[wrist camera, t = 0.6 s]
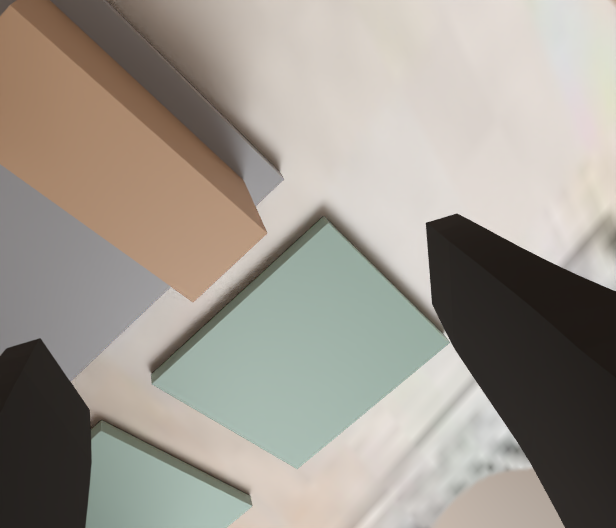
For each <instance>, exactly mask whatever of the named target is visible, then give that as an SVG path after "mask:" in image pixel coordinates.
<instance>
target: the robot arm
mask: <svg viewBox="0 0 616 528" xmlns="http://www.w3.org/2000/svg"><path fill="white" fill-rule="evenodd" d="M426 231H427V244H428V257H429V270H430V283H431V295H432V305H433V307H434V309H435V311H436V313H437V315H438V317H439V319H440V321H441V323H442V325H443V327H444V329H445V331H446V333H447V335H448V337H449V339H450V341H451V343H452V345H453V347H454V348H455V350H456V352H457V353H458V355H459V356H460V358H461V359H462V361H463V362H464V364H465V365H466V367H467V368H468V370H469V371H470V373H471V374H472V376H473V377H474V379H475V380H476V382H477V383H478V385H479V386H480V387H481V389H482V390H483V392H484V393H485V395H486V396H487V398H488V399H489V401H490V402H491V404H492V405H493V407H494V408H495V410H496V411H497V413H498V414H499V415H500V417H501V418H502V420H503V421H504V423H505V424H506V426H507V427H508V429H509V430H510V432H511V433H512V435H513V436H514V438H515V439H516V441H517V442H518V444H519V445H520V447H521V449H522V450H523V452H524V453H525V455H526V457H527V458H528V460H529V461H530V463H531V465H532V467H533V469H534V470H535V472H536V474H537V476H538V478H539V480H540V481H541V483H542V485H543V487H544V489H545V491H546V492H547V494H548V496H549V498H550V500H551V502H552V504H553V505H554V507H555V509H556V511H557V513H558V515H559V517H560V518H561V521H562V523H563V525H564V526H565V528H616V291H613V290H611V289H609V288H606V287H604V286H602V285H599V284H597V283H595V282H592V281H590V280H588V279H585V278H583V277H581V276H579V275H576V274H574V273H572V272H570V271H568V270H566V269H563V268H561V267H559V266H557V265H555V264H553V263H551V262H549V261H547V260H545V259H543V258H541V257H539V256H537V255H535V254H533V253H531V252H529V251H527V250H525V249H523V248H521V247H519V246H517V245H515V244H513V243H512V242H510V241H508V240H506V239H504V238H502V237H500V236H498V235H497V234H495V233H493V232H491V231H489V230H487V229H485V228H484V227H482V226H480V225H478V224H476V223H474V222H472V221H471V220H469V219H467V218H465V217H463V216H461V215H459V214H454V215H451V216H447V217H444V218H441V219H437V220H434V221H431V222H427V223H426ZM91 465H92V451H91V426H90V410H89V408H88V407H87V405H86V404H85V402H84V401H83V399H82V398H81V397H80V395H79V394H78V392H77V391H76V389H75V388H74V386H73V385H72V383H71V382H70V380H69V379H68V378H67V376H66V375H65V373H64V372H63V370H62V369H61V367H60V366H59V364H58V363H57V361H56V360H55V359H54V357H53V356H52V354H51V353H50V351H49V350H48V348H47V347H46V345H45V344H44V342H43V341H42V340H41V338H39V339H36V340H32V341H29V342H26V343H22V344H19V345H15V346H12V347H9V348H6V349H5V351H4V352H3V353H2V354H1V355H0V528H85V527H86V518H87V508H88V498H89V487H90V477H91Z"/></svg>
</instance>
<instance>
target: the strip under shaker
mask: <svg viewBox="0 0 616 528" xmlns="http://www.w3.org/2000/svg"><path fill="white" fill-rule="evenodd" d="M283 180H284V178H283V176H282V174H281V173H280V172H279V171H278V170H277V169H276V168H275V167H274V166H273V165H272V164H271V163H270V162H269V161H268V160H267V159H266V158H265V157H264V156H263V155H262V154H261V153H260V152H259V151H258V150H257V149H256V148H255V147H254V146H253V145H252V144H251V143H250V142H249V141H248V140H247V139H246V138H245V137H244V136H243V135H242V134H241V133H240V132H239V131H238V130H237V129H236V128H235V127H234V126H233V125H232V124H231V123H230V122H229V121H228V120H227V119H226V118H225V117H223V116H222V115H221V114H220V113H219V112H218V111H217V110H216V109H215V108H214V107H213V106H212V105H211V104H210V103H209V102H208V101H207V100H206V99H205V98H204V97H203V96H202V95H201V94H200V93H199V92H198V91H197V90H196V89H195V88H194V87H193V86H192V85H191V84H190V83H189V82H188V81H187V80H186V79H185V78H184V77H183V76H182V75H181V74H180V73H179V72H178V71H177V70H176V69H175V68H174V67H173V66H172V65H171V64H170V63H169V62H168V61H167V60H166V59H165V58H164V57H163V56H162V55H161V54H160V53H159V52H158V51H157V50H156V49H155V48H154V47H153V46H152V45H151V44H150V43H149V42H148V41H147V40H146V39H145V38H144V37H143V36H142V35H141V34H140V33H139V32H138V31H136V30H135V29H134V28H133V27H132V26H131V25H130V24H129V23H128V22H127V21H126V20H125V19H124V18H123V17H122V16H121V15H120V14H119V13H118V12H117V11H116V10H115V9H114V8H113V7H112V6H111V5H110V4H109V3H108V2H107V1H106V0H0V355H1V354H2V353H3V352H4V351H5V349H6V348H9V347H12V346H15V345H19V344H22V343H26V342H29V341H32V340H36V339H39V338H41V340H42V341H43V342H44V344H45V345H46V347H47V348H48V350H49V351H50V353H51V354H52V356H53V357H54V359H55V360H56V361H57V363H58V364H59V366H60V367H61V369H62V370H63V372H64V373H65V375H66V376H67V378H68V379H69V380H70V382H71V381H72V380H73V379H74V378H75V377H76V376H77V375H78V374H79V373H80V372H81V371H82V370H83V369H84V368H85V367H87V366H88V365H89V364H90V363H91V362H92V361H93V360H94V359H95V358H96V357H97V356H98V355H99V354H100V353H101V352H102V351H103V350H104V349H106V348H107V347H108V346H109V345H110V344H111V343H112V342H113V341H114V340H115V339H116V338H117V337H118V336H119V335H120V334H121V333H122V332H123V331H125V330H126V329H127V328H128V327H129V326H130V325H131V324H132V323H133V322H134V321H135V320H136V319H137V318H138V317H139V316H140V315H141V314H142V313H144V312H145V311H146V310H147V309H148V308H149V307H150V306H151V305H152V304H153V303H154V302H155V301H156V300H157V299H158V298H159V297H160V296H161V295H163V294H164V293H165V292H166V291H167V290H168V289H169V288H170V287H172V288H174V289H175V290H176V291H178V292H179V293H181V294H182V295H183V296H185V297H186V298H187V299H189V300H190V301H192V302H194V301H195V300H196V299H197V298H198V297H200V296H201V295H202V294H203V293H204V292H205V291H206V290H207V289H208V288H209V287H210V286H211V285H212V284H213V283H215V282H216V281H217V280H218V279H219V278H220V277H221V276H222V275H223V274H224V273H225V272H226V271H227V270H228V269H230V268H231V267H232V266H233V265H234V264H235V263H236V262H237V261H238V260H239V259H240V258H241V257H242V256H244V255H245V254H246V253H247V252H248V251H249V250H250V249H251V248H252V247H253V246H254V245H255V244H256V243H257V242H259V241H260V240H261V239H262V238H263V237H264V236H265V235H266V234H267V231H266V229H265V227H264V225H263V222H262V220H261V218H260V216H259V213H258V211H257V209H256V207H255V206H256V205H258V204H259V203H260V202H261V201H262V200H263V199H264V198H265V197H266V196H267V195H268V194H269V193H270V192H271V191H272V190H273V189H274V188H275V187H277V186H278V185H279V184H280V183H281V182H282V181H283Z"/></svg>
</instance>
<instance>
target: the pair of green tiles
mask: <svg viewBox="0 0 616 528" xmlns="http://www.w3.org/2000/svg"><path fill="white" fill-rule="evenodd" d="M449 343H450V342H449V341H448V339H447V338H446V337H445V335H444V334H443V333H442V332H441V331H440V330H439V329H438V328H437V327H436V326H435V325H434V324H433V323H432V322H431V321H430V320H429V319H428V318H427V317H425V316H424V315H423V314H422V313H421V312H420V311H419V310H418V309H417V308H416V307H415V306H414V305H413V304H412V303H411V302H410V301H409V300H408V299H407V298H406V297H405V296H404V295H403V294H402V293H401V292H400V291H399V290H398V289H397V288H396V287H395V286H394V285H393V284H392V283H391V282H390V281H389V280H388V279H387V278H386V277H385V276H384V275H383V274H382V273H381V272H380V271H379V270H378V269H377V268H376V267H375V266H374V265H373V264H372V263H371V262H370V261H369V260H368V259H367V258H366V257H365V256H364V255H363V254H362V253H361V252H360V251H359V250H358V249H357V248H356V247H355V246H354V245H353V244H352V243H351V242H350V241H349V240H348V239H347V238H346V237H345V236H344V235H342V234H341V233H340V232H339V231H338V230H337V229H336V228H335V227H334V226H333V225H332V224H331V223H330V222H329V221H328V220H327V219H326V218H325V217H324V216H323V217H322V218H321V219H320V220H319V221H318V222H317V223H316V224H314V225H313V226H312V227H311V228H310V229H309V230H308V231H307V232H306V233H305V234H304V235H302V236H301V237H300V238H299V239H298V240H297V241H296V242H295V243H294V244H293V245H292V246H290V247H289V248H288V249H287V250H286V251H285V252H284V253H283V254H282V255H281V256H280V257H279V258H277V259H276V260H275V261H274V262H273V263H272V264H271V265H270V266H269V267H268V268H267V269H265V270H264V271H263V272H262V273H261V274H260V275H259V276H258V277H257V278H256V279H255V280H253V281H252V282H251V283H250V284H249V285H248V286H247V287H246V288H245V289H244V290H243V291H241V292H240V293H239V294H238V295H237V296H236V297H235V298H234V299H233V300H232V301H231V302H230V303H228V304H227V305H226V306H225V307H224V308H223V309H222V310H221V311H220V312H219V313H218V314H216V315H215V316H214V317H213V318H212V319H211V320H210V321H209V322H208V323H207V324H206V325H204V326H203V327H202V328H201V329H200V330H199V331H198V332H197V333H196V334H195V335H194V336H192V337H191V338H190V339H189V340H188V341H187V342H186V343H185V344H184V345H183V346H182V347H181V348H179V349H178V350H177V351H176V352H175V353H174V354H173V355H172V356H171V357H170V358H169V359H167V360H166V361H165V362H164V363H163V364H162V365H161V366H160V367H159V368H158V369H157V370H155V371H154V372H153V373H152V374H151V380H152V385H154V386H156V387H157V388H159V389H161V390H162V391H164V392H166V393H168V394H169V395H171V396H173V397H174V398H176V399H178V400H180V401H181V402H183V403H185V404H186V405H188V406H190V407H192V408H193V409H195V410H197V411H198V412H200V413H202V414H204V415H205V416H207V417H209V418H210V419H212V420H214V421H216V422H217V423H219V424H221V425H222V426H224V427H226V428H227V429H229V430H231V431H233V432H234V433H236V434H238V435H239V436H241V437H243V438H245V439H246V440H248V441H250V442H251V443H253V444H255V445H257V446H258V447H260V448H262V449H263V450H265V451H267V452H269V453H270V454H272V455H274V456H275V457H277V458H279V459H281V460H282V461H284V462H286V463H287V464H289V465H291V466H293V467H294V468H296V469H298V468H299V467H300V466H302V465H303V464H304V463H305V462H307V461H308V460H309V459H310V458H311V457H313V456H314V455H315V454H316V453H317V452H319V451H320V450H321V449H322V448H323V447H325V446H326V445H327V444H328V443H329V442H331V441H332V440H333V439H334V438H336V437H337V436H338V435H339V434H340V433H342V432H343V431H344V430H345V429H346V428H348V427H349V426H350V425H351V424H352V423H354V422H355V421H356V420H357V419H358V418H360V417H361V416H362V415H363V414H364V413H366V412H367V411H368V410H369V409H371V408H372V407H373V406H374V405H375V404H377V403H378V402H379V401H380V400H381V399H383V398H384V397H385V396H386V395H387V394H389V393H390V392H391V391H392V390H393V389H395V388H396V387H397V386H398V385H400V384H401V383H402V382H403V381H404V380H406V379H407V378H408V377H409V376H410V375H412V374H413V373H414V372H415V371H416V370H418V369H419V368H420V367H421V366H422V365H424V364H425V363H426V362H427V361H428V360H430V359H431V358H432V357H433V356H435V355H436V354H437V353H438V352H439V351H441V350H442V349H443V348H444V347H445V346H447V345H448V344H449ZM91 451H92V465H91V477H90V487H89V498H88V508H87V518H86V527H85V528H227V527H228V526H229V525H230V524H232V523H233V522H234V521H235V520H236V519H238V518H239V517H240V516H241V515H243V514H244V513H245V512H246V511H247V510H249V509H250V508H251V507H252V502H251V497H250V496H249V495H247V494H245V493H243V492H241V491H239V490H237V489H236V488H234V487H232V486H230V485H228V484H226V483H224V482H222V481H220V480H218V479H216V478H214V477H212V476H210V475H208V474H206V473H204V472H202V471H200V470H198V469H196V468H194V467H192V466H190V465H189V464H187V463H185V462H183V461H181V460H179V459H177V458H175V457H173V456H171V455H169V454H167V453H165V452H163V451H161V450H159V449H157V448H155V447H153V446H151V445H149V444H147V443H145V442H143V441H142V440H140V439H138V438H136V437H134V436H132V435H130V434H128V433H126V432H124V431H122V430H120V429H118V428H116V427H114V426H112V425H110V424H108V423H106V422H104V421H102V420H101V421H100V422H99V423H98V424H97V425H96V426H94V427H93V428H92V429H91Z"/></svg>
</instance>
